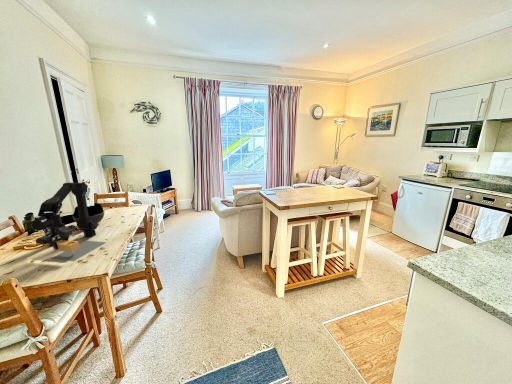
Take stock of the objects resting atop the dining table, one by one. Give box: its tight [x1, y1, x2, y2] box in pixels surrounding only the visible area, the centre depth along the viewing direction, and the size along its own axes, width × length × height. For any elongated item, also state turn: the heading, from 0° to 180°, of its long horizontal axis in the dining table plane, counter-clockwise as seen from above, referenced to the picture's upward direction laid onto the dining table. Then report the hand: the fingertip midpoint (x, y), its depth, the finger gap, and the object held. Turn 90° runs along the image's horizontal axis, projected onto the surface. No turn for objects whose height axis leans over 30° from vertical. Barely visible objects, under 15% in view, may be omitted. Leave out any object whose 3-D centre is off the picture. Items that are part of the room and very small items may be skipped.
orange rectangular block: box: [53, 239, 80, 252], centre depth 122 cm, size 12×5×4 cm, turn 81°
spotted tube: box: [43, 228, 62, 248], centre depth 136 cm, size 8×8×20 cm
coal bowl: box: [72, 202, 105, 225], centre depth 167 cm, size 20×20×19 cm
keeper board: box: [50, 240, 107, 262], centre depth 128 cm, size 16×22×9 cm
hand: (61, 247), depth 123 cm, fingers closed on orange rectangular block, 5 cm apart
